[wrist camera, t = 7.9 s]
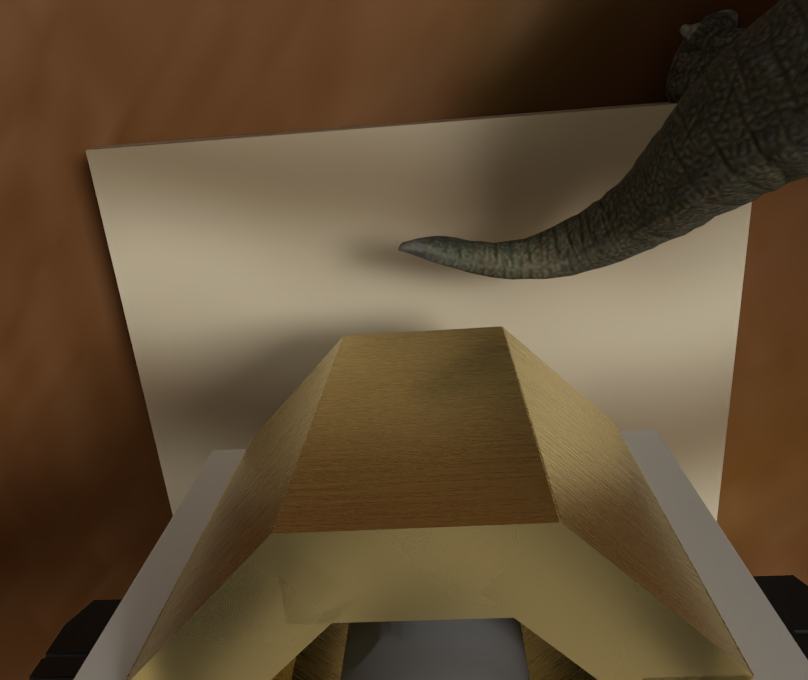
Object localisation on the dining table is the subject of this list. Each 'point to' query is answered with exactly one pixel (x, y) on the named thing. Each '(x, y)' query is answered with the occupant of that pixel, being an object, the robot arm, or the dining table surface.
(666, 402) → the post board
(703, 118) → the dinosaur figurine
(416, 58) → the dining table surface
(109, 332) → the dining table surface
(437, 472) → the sleeve
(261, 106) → the dining table surface
